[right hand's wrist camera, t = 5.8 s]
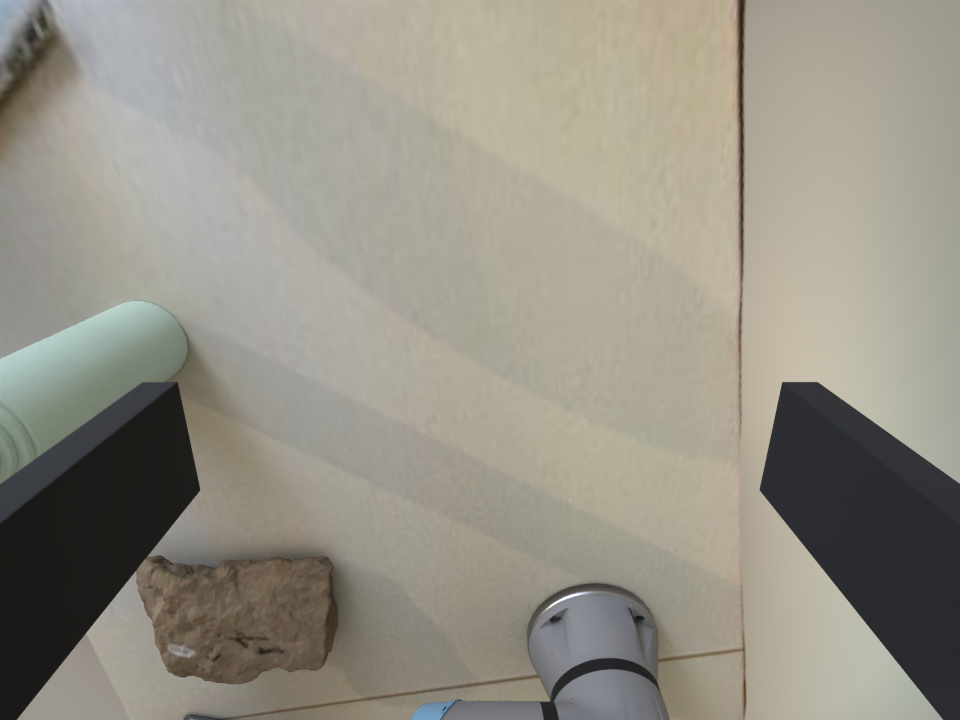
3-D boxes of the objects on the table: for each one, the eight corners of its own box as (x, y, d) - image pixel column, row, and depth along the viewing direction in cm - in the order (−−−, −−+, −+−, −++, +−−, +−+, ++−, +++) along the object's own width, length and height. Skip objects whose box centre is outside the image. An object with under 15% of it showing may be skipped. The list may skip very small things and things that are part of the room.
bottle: (105, 372, 56) (-154, 532, 33) (100, 293, 53) (-187, 409, 30) (188, 385, 57) (-10, 552, 34) (188, 308, 54) (-29, 433, 31)
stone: (153, 667, 66) (130, 706, 60) (144, 547, 64) (120, 574, 58) (339, 650, 69) (335, 684, 64) (337, 535, 67) (332, 560, 61)
